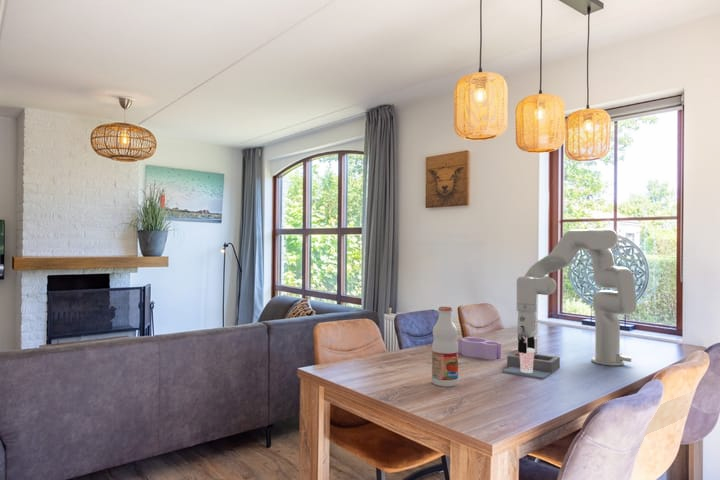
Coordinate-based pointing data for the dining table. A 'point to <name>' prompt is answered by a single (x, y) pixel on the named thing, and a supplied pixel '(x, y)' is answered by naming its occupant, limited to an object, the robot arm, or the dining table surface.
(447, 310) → the fruit juice
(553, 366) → the grey desk organizer
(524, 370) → the beverage cup
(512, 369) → the mat
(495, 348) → the purple cup holder
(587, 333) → the dining table surface
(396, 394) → the dining table surface
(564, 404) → the dining table surface
